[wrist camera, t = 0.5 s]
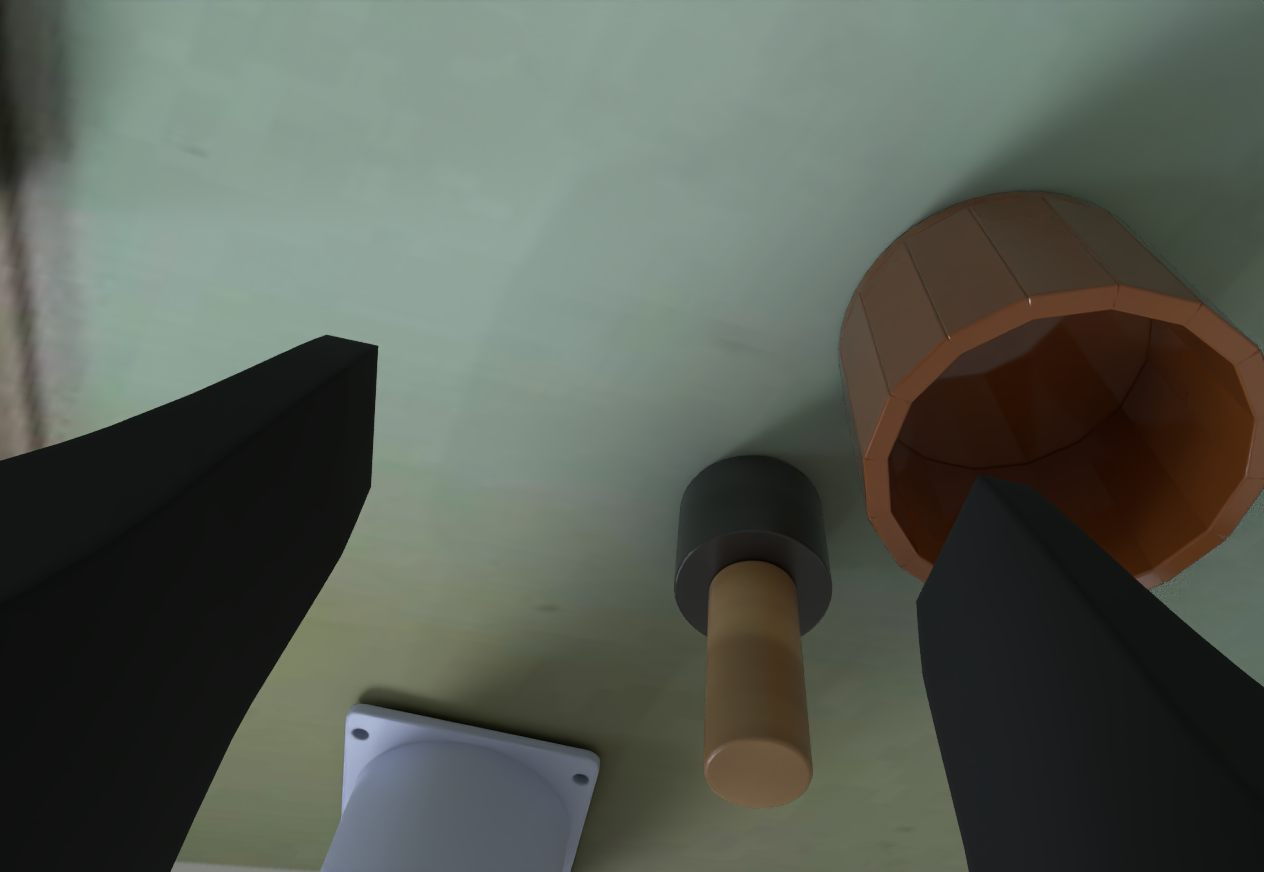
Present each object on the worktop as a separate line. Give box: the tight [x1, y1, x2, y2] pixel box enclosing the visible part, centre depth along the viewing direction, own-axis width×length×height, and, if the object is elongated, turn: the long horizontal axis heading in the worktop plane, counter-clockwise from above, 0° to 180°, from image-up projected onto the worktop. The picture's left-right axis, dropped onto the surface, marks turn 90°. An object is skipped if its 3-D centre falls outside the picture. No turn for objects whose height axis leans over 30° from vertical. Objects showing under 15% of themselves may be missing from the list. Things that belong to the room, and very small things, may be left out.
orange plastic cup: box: [839, 191, 1264, 589], centre depth 19 cm, size 7×7×5 cm
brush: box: [674, 456, 832, 808], centre depth 20 cm, size 4×4×8 cm
